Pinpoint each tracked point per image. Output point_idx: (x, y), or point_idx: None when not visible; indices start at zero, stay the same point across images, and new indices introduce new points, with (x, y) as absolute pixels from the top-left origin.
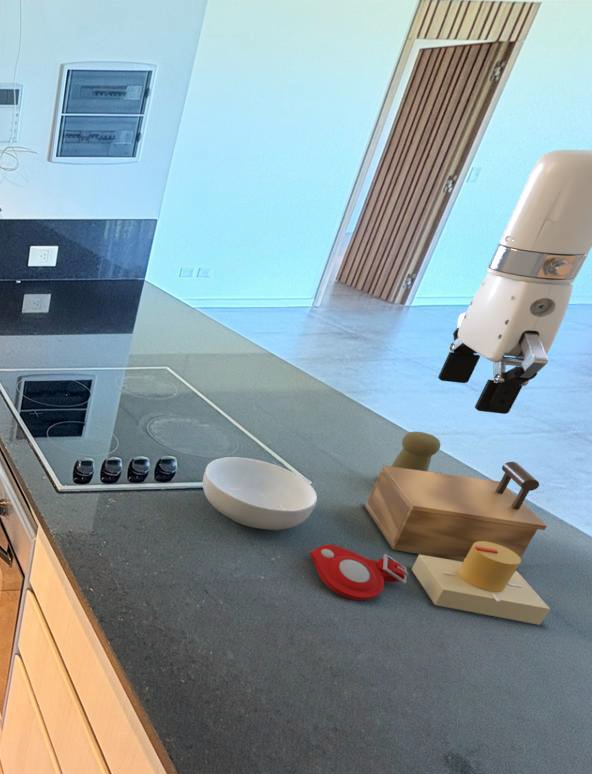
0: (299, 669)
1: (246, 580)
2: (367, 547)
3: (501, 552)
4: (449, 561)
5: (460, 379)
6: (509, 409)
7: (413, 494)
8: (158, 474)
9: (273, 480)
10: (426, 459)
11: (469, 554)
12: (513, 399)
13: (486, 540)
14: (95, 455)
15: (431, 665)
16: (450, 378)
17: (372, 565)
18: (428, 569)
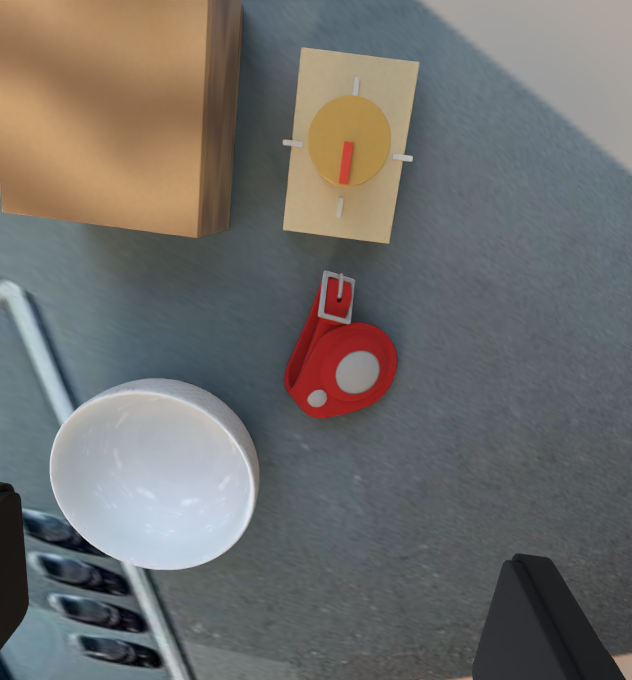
0: (545, 496)
1: (369, 500)
2: (232, 275)
3: (347, 129)
4: (295, 179)
5: (7, 542)
6: (562, 580)
7: (140, 210)
8: (87, 548)
9: (91, 413)
10: None
11: (336, 184)
12: (599, 657)
13: (223, 67)
14: (56, 628)
15: (526, 323)
16: (12, 592)
17: (336, 335)
18: (327, 235)
